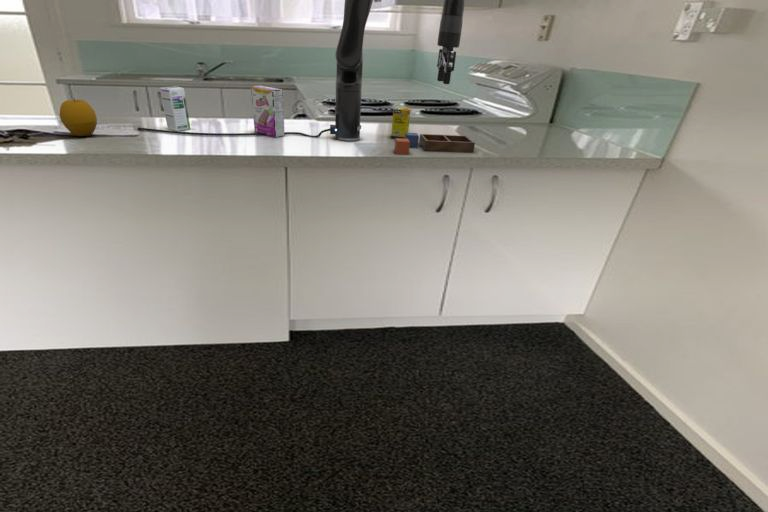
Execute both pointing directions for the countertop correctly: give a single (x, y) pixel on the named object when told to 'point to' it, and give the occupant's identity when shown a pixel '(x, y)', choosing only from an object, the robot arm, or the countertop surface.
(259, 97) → the candy bar box
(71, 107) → the apple
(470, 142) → the sorting tray
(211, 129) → the countertop surface
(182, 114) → the syrup box
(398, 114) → the supplement box
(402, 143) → the terracotta block
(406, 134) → the blue block
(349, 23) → the robot arm
